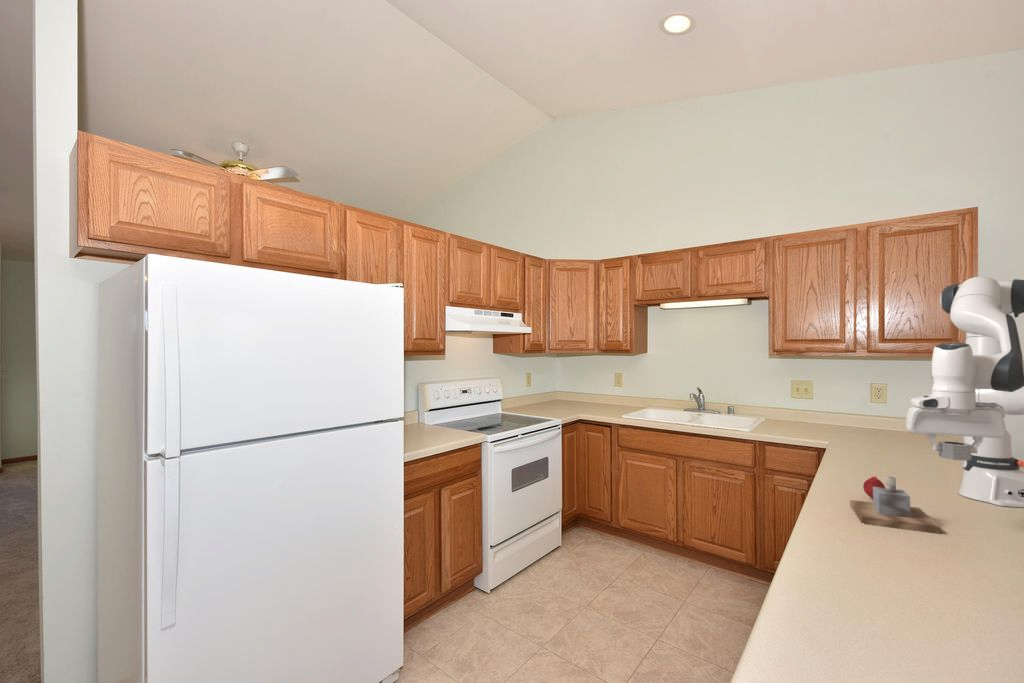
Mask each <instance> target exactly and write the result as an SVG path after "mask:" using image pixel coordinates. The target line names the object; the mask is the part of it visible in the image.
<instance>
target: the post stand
mask: <svg viewBox="0 0 1024 683" xmlns="http://www.w3.org/2000/svg"><path fill="white" fill-rule="evenodd" d="M884 482H885V483H884V486H885V488H881V487H873V499H872V501H863V500H862V501H861V500H855V499H854V500H853V499H849V506H851V507H850V508H851V510H852V509H853V510H852V511H853V512H855V513H854V514H855V516H856V515H857V516H856V517H857V519H858V518H859V519H858V520H859V522H860V521H861V522H860V523H861V524H862V523H864V524H863V525H869V524H872V525H871V526H876V525H880V526H879V527H884V526H888V527H887V528H892V527H894V529H899V528H901V529H900V530H907V531H908V530H909V531H915V532H916V531H917V532H924V533H931V534H940V531H941V530H940V529H941V528H940V525H939V524H938V523H937V522H935V521H934V519H932V518H931V517H930V516H929V515H927V514H926V512H925V511H923V509H921V508H920V507H915V506H911V496H910V495H909V494H908V493H906V491H905V490H903V489H900V488H899V489H898V488H897V479H896V477H894V476H884Z"/></svg>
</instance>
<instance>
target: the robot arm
mask: <svg viewBox="0 0 1024 683" xmlns="http://www.w3.org/2000/svg"><path fill="white" fill-rule="evenodd" d="M939 304H940V306H941V308H942V310H943V312H944V313H946V314H949V315H950V316H949V317H950V321H951V322H952V324H953V325H954V326H955V327H956V328H957V329H959V330H961V331H963V332H965V342H946V343H945V342H943V343H940V344H936V345H935V346H934V348H933V352H932V356H931V357H932V358H931V367H930V375H931V379H932V382H933V383H932V387H931V393H930V394H925V395H921V396H917V397H912V398H911V399H910V405H912V406H911V407H909V408H908V411H907V412H906V420H905V421H906V422H905V427H906V430H907V431H908V432H909V433H912V434H921V435H926V438H927V439H928V440H929V442H930V443H931V444H932V450H933V451H936V452H939V451H941V450H942V449H941V447H942V446H941V445H940V444H939V443H938V442H937V441H936V440H935V439H937V435H938V436H939V435H941V436H953V437H954V436H955V437H956V436H957V437H958V436H959V437H962V438H963V443H967V444H970V445H971V460H967V461H964V460H961V465H962V469H963V472H962V479H961V484H960V487H959V490H958V494H959V495H961V496H962V497H965V498H969V499H972V500H976V501H980V502H984V503H989V504H992V505H997V506H1000V507H1010V508H1011V507H1013V508H1014V507H1015V508H1024V471H1023V470H1022V469H1021V468H1023V469H1024V460H1022V459H1017V458H1015V457H1013V456H1012V435H1011V434H1010V433H1009V431H1008V430H1007V428H1006V423H1005V420H1004V418H1005V417H1006V416H1024V358H1023V351H1022V345H1021V341H1020V334H1019V331H1018V327H1017V323H1016V320H1015V319H1016V318H1018V317H1019V316H1020V315H1021V314H1024V279H1017V278H1016V279H1013V280H1011V279H994V278H992V277H988V276H973V277H971V278H968V279H966V280H964V281H963V282H962V283H954V284H950V285H947V286H946V287H945V288H943V289H942V292H941V293H940V297H939ZM1012 314H1013V315H1012ZM1013 316H1014V317H1013ZM1014 318H1015V319H1014Z"/></svg>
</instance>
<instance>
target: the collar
mask: <svg viewBox="0 0 1024 683" xmlns="http://www.w3.org/2000/svg"><path fill="white" fill-rule="evenodd" d="M938 444H940V445H941V446H942V447H941V449H942V450H941V451H938V456H939V457H940V458H942V459H947V460H952V461H962V460H964V461H967V460H971V445H970V444H967V443H964V442H960V441H951V440H950V441H949V440H942V441H938Z"/></svg>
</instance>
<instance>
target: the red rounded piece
mask: <svg viewBox="0 0 1024 683" xmlns="http://www.w3.org/2000/svg"><path fill="white" fill-rule="evenodd" d="M876 476H877V475H874V474H873V475H871V478H868V479H866V480H865V481H864V483H863V486H862V487H863V491H864V494H866V495H867V496H868V497H870V499H872V500H873V487H881V488H885V483H884V482H882V481H881V480H880V479H879V478H877V477H876Z"/></svg>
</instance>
